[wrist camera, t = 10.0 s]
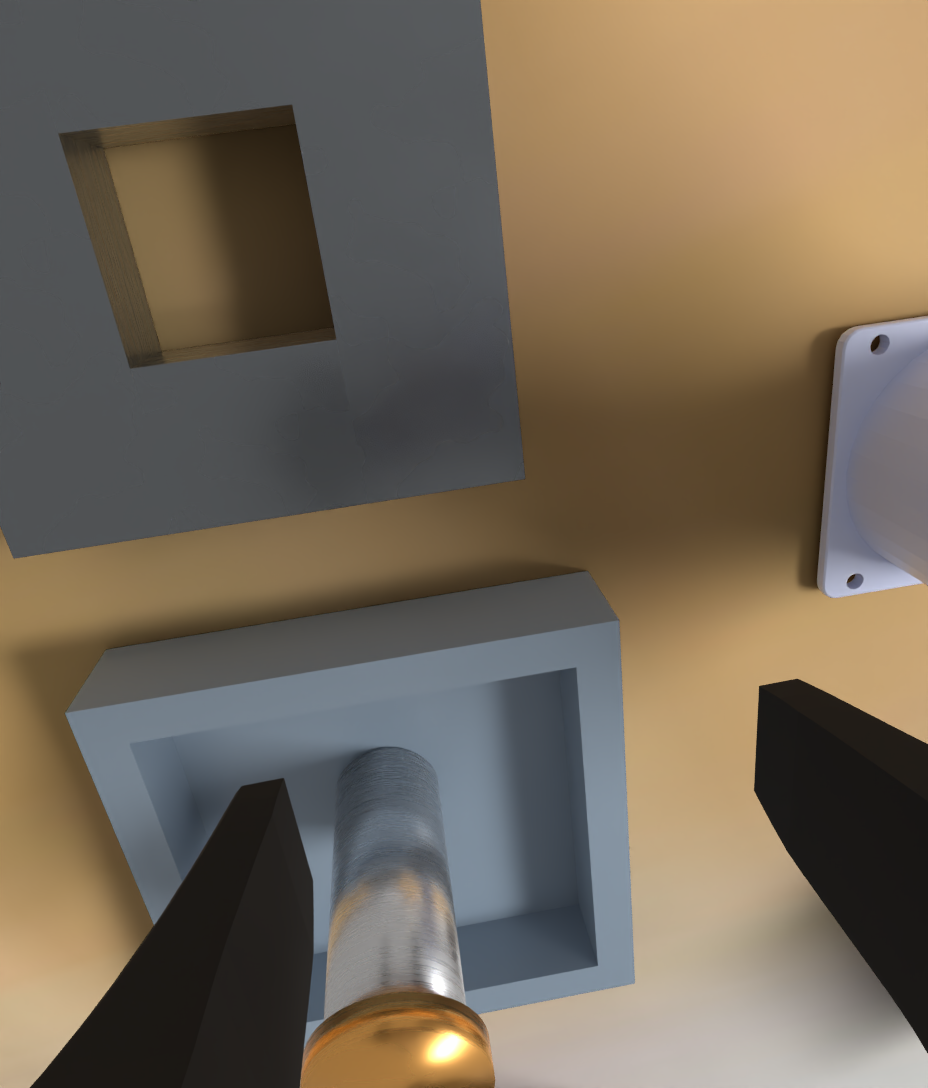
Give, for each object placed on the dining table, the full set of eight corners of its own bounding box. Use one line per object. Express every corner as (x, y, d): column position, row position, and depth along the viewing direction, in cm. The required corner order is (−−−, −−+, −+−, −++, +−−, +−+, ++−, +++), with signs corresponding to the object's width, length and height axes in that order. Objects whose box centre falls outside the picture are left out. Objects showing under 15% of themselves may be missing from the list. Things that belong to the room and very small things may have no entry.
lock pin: (440, 725, 22) (480, 1012, 14) (460, 821, 24) (506, 1127, 16) (309, 752, 22) (276, 1057, 14) (339, 847, 24) (324, 1168, 16)
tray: (587, 570, 21) (619, 620, 19) (608, 907, 27) (635, 983, 24) (105, 649, 21) (64, 713, 18) (230, 979, 26) (213, 1066, 23)
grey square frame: (449, -112, 15) (464, -176, 13) (507, 450, 20) (525, 478, 17) (-157, -46, 14) (-259, -101, 12) (57, 519, 19) (13, 558, 17)
